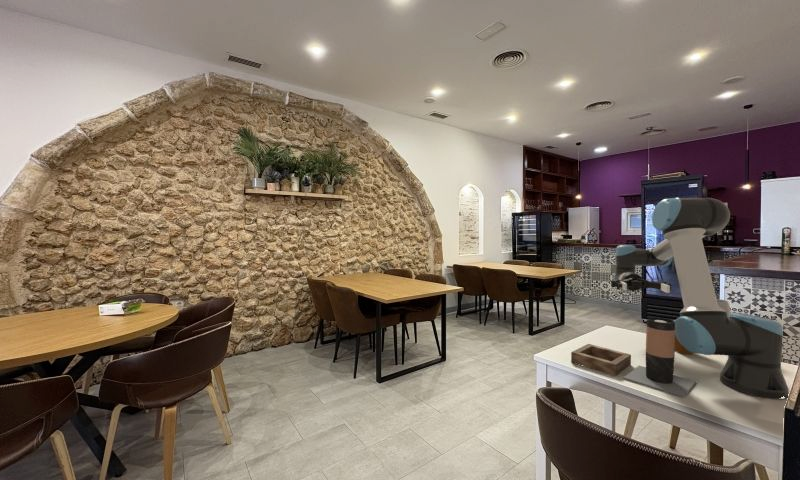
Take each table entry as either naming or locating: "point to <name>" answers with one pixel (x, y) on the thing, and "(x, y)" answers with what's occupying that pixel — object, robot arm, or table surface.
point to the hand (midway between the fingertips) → (646, 288)
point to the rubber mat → (677, 387)
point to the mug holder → (601, 359)
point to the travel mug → (660, 349)
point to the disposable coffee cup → (680, 346)
